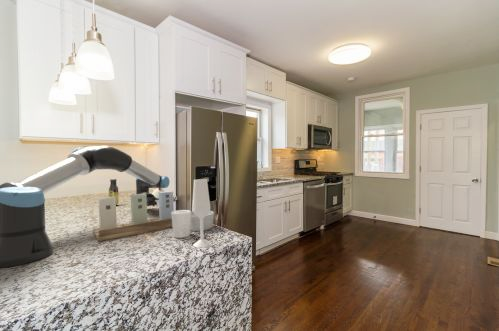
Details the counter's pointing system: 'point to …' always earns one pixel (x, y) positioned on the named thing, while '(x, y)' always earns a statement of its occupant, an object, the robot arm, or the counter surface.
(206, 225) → the ramekin
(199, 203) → the champagne flute
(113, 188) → the sauce bottle
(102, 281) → the counter surface
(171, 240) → the counter surface
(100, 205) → the tile
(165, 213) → the tile
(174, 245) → the counter surface
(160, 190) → the kitchen timer
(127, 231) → the oak board
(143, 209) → the tile
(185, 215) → the white cup
